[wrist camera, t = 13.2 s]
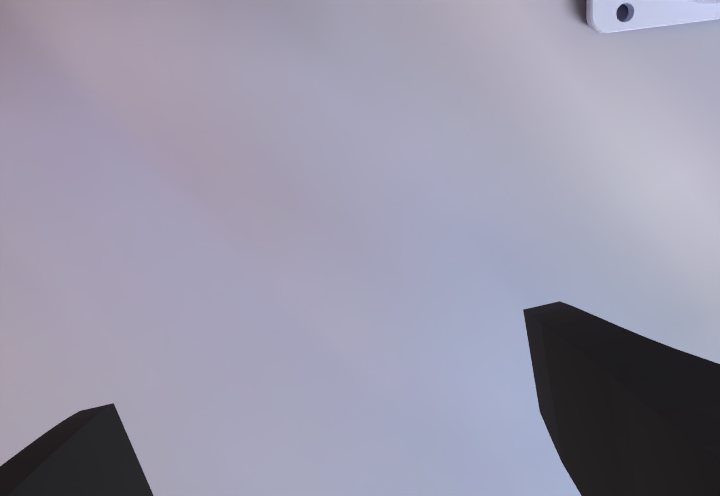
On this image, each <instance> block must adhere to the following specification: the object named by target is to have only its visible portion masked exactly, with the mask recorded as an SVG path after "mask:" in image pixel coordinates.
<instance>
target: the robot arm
mask: <svg viewBox="0 0 720 496" xmlns="http://www.w3.org/2000/svg"><path fill="white" fill-rule="evenodd" d="M621 4H625V5H626V6H627V8H628V16H627V18H626V19H625V20H624V21H622V22H620V21H619V20H618V19H617V16H616V12H617V9H618V7H619V6H620V5H621ZM586 18H587V23H588V25H589V27H590V28H591V29H592V30H593V31H595V32H598V33H610V32H618V31H627V30H635V29H643V28H651V27H659V26H667V25H675V24H683V23H691V22H699V21H707V20H716V19H720V0H587V8H586ZM523 311H524V317H525V323H526V329H527V335H528V341H529V348H530V354H531V360H532V366H533V372H534V378H535V384H536V390H537V397H538V403H539V409H540V413H541V415H542V418H543V420H544V422H545V425H546V427H547V429H548V432H549V434H550V436H551V439H552V441H553V443H554V445H555V448H556V450H557V452H558V454H559V457H560V459H561V461H562V463H563V465H564V467H565V468H566V470H567V472H568V473H569V475H570V477H571V478H572V480H573V482H574V484H575V485H576V487H577V489H578V490H579V492H580V494H581V495H582V496H720V364H718V363H715V362H712V361H709V360H706V359H703V358H700V357H697V356H694V355H691V354H689V353H686V352H683V351H680V350H677V349H674V348H672V347H669V346H666V345H664V344H661V343H659V342H656V341H653V340H651V339H648V338H646V337H643V336H641V335H639V334H636V333H634V332H631V331H629V330H627V329H624V328H622V327H620V326H617V325H615V324H613V323H610V322H608V321H606V320H603V319H601V318H599V317H596V316H594V315H592V314H590V313H587V312H585V311H583V310H580V309H578V308H576V307H573V306H571V305H568V304H565V303H562V302H555V303H551V304H546V305H542V306H538V307H533V308H529V309H524V310H523ZM0 496H153V494H152V491H151V489H150V487H149V484H148V482H147V480H146V477H145V475H144V473H143V470H142V468H141V466H140V463H139V461H138V459H137V457H136V454H135V452H134V450H133V447H132V445H131V443H130V440H129V438H128V436H127V433H126V431H125V429H124V426H123V424H122V422H121V420H120V417H119V415H118V413H117V410H116V408H115V406H114V403H113V404H109V405H104V406H100V407H96V408H91V409H87V410H82V411H79V412H78V413H76V414H74V415H72V416H70V417H69V418H67V419H65V420H64V421H62V422H61V423H59V424H58V425H56V426H55V427H53V428H52V429H51V430H49V431H48V432H46V433H45V434H43V435H42V436H41V437H39V438H38V439H37V440H35V441H34V442H32V443H31V444H30V445H28V446H27V447H26V448H24V449H23V450H22V451H20V452H19V453H18V454H16V455H15V456H14V457H12V458H11V459H10V460H8V461H7V462H6V463H4V464H3V465H2V466H0Z"/></svg>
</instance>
